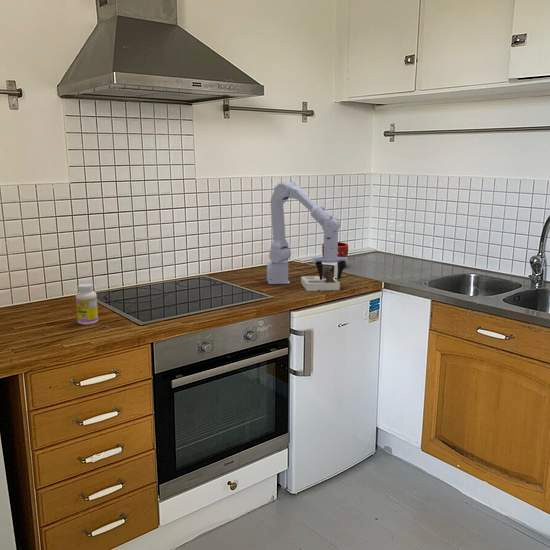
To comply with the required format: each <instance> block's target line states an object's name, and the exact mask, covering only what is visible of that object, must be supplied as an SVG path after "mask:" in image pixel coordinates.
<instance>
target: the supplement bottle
mask: <svg viewBox="0 0 550 550" xmlns="http://www.w3.org/2000/svg"><path fill="white" fill-rule="evenodd" d="M77 288H78V292H77V293H76V294H75V302H76V303H75V306H76V319H77V323H78V324H79V325H85V326H87V325H88V326H89V325H93V324H96V323H98V322H99V313H98V312H99V311H98V296H97V293H96V292H95V291H93V290H94V284H93V283H80V284H78V286H77Z"/></svg>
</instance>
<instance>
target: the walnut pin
mask: <svg viewBox="0 0 550 550" xmlns="http://www.w3.org/2000/svg"><path fill="white" fill-rule="evenodd" d="M333 276H334V272H331V271H328V272H326V283H333Z"/></svg>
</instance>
